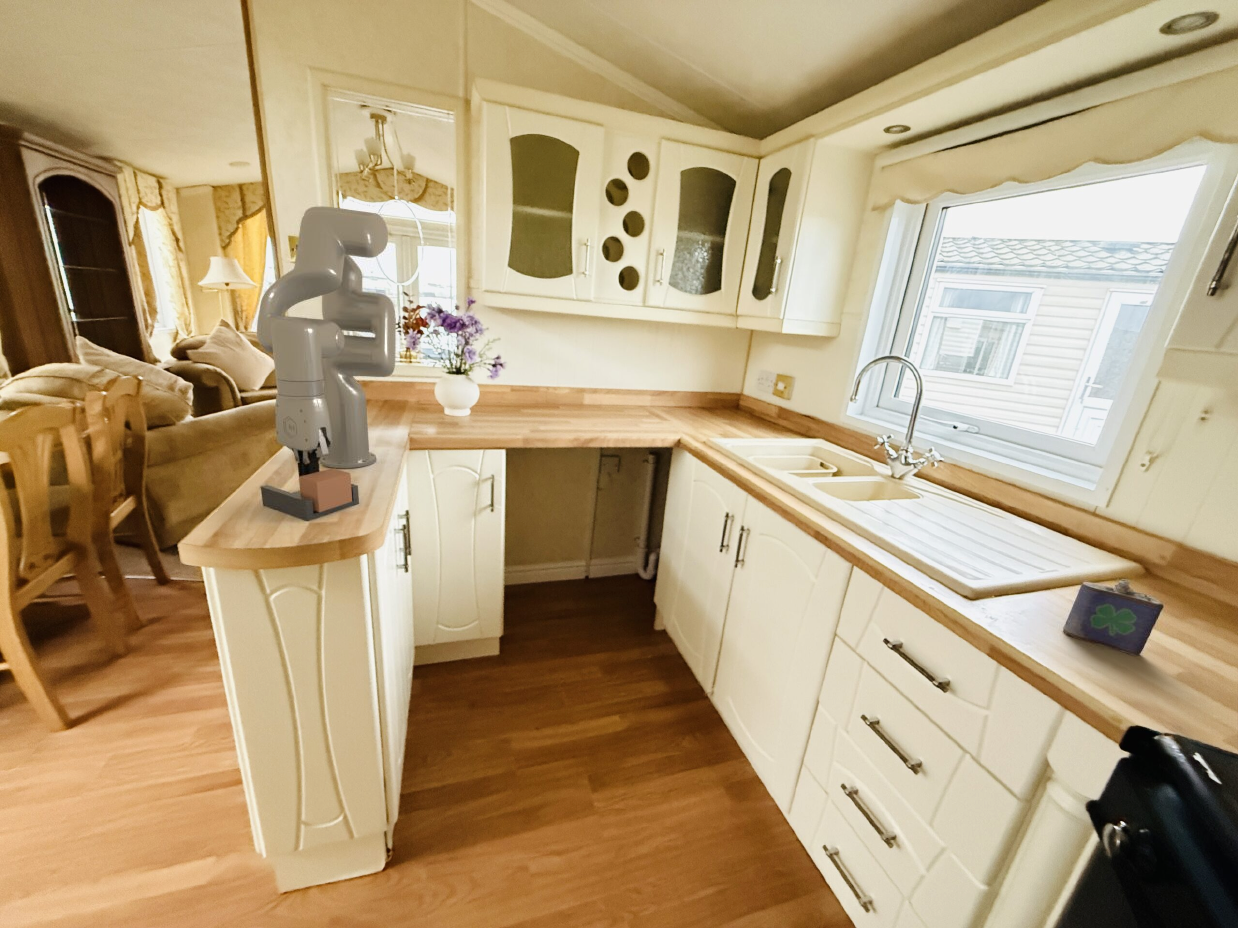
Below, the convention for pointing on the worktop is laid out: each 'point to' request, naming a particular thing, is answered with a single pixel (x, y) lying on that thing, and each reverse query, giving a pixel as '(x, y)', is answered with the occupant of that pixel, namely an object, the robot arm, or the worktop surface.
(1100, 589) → the flask
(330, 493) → the block
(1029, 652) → the worktop surface
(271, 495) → the chute
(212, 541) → the worktop surface
